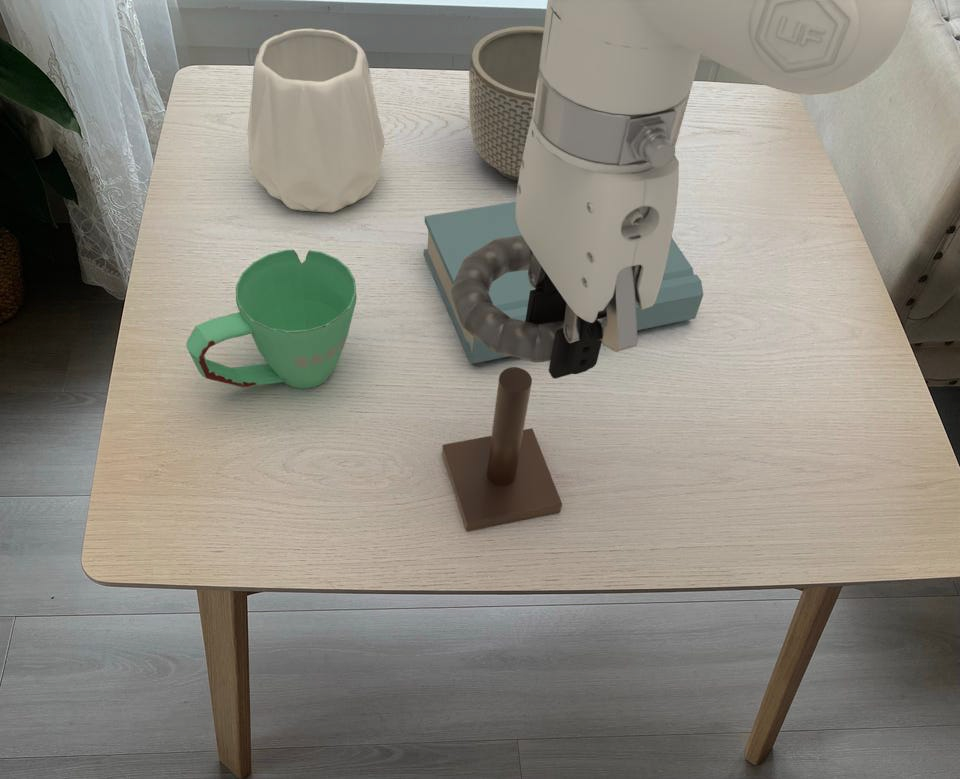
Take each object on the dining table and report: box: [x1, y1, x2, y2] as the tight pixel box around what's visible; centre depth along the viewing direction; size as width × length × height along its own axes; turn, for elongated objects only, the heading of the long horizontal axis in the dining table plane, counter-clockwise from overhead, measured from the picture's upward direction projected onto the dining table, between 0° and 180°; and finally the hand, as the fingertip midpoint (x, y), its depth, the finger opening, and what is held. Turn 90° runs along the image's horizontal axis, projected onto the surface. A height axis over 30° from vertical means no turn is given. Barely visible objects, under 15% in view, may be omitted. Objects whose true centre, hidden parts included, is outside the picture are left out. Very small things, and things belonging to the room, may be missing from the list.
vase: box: [247, 28, 386, 213], centre depth 97 cm, size 14×14×15 cm
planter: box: [468, 25, 544, 183], centre depth 102 cm, size 14×14×13 cm
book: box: [423, 201, 704, 364], centre depth 93 cm, size 23×16×5 cm
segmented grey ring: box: [451, 236, 564, 363], centre depth 63 cm, size 11×11×2 cm
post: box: [441, 366, 563, 532], centre depth 74 cm, size 8×8×13 cm
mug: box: [185, 249, 358, 390], centre depth 81 cm, size 15×10×10 cm
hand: (559, 348), depth 62 cm, fingers closed on segmented grey ring, 2 cm apart
